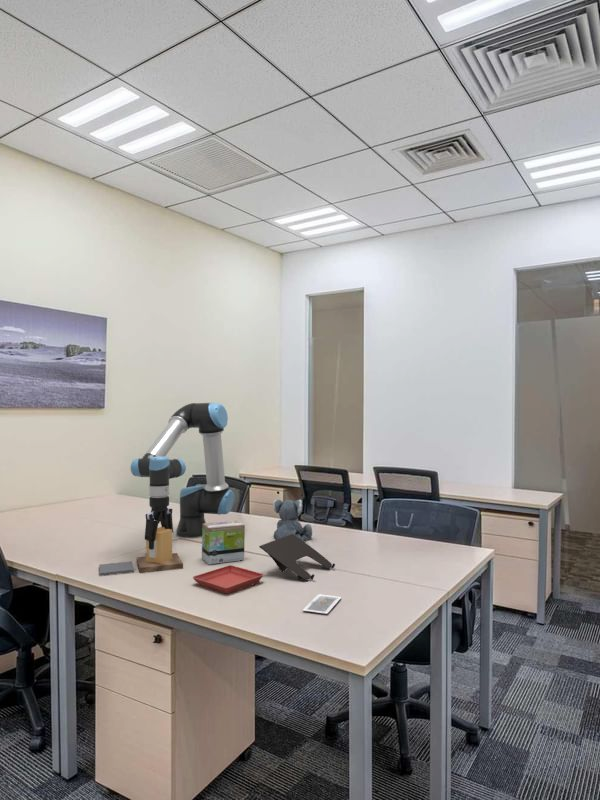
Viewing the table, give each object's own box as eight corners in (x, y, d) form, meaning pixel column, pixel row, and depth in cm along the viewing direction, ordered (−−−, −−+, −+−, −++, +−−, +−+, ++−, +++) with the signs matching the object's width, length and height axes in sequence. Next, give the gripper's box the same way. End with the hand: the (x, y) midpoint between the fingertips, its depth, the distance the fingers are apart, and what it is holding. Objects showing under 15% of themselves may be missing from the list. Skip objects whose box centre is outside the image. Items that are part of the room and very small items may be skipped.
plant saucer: (226, 597, 176) (226, 587, 176) (191, 585, 188) (191, 576, 188) (264, 583, 190) (264, 574, 190) (230, 573, 202) (230, 564, 202)
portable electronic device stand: (299, 599, 190) (309, 578, 188) (252, 561, 201) (261, 541, 199) (330, 581, 210) (339, 562, 208) (285, 548, 221) (294, 529, 218)
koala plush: (314, 538, 255) (314, 496, 255) (299, 547, 239) (298, 502, 239) (281, 534, 262) (281, 494, 262) (264, 543, 246) (264, 500, 246)
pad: (131, 563, 214) (131, 561, 214) (133, 572, 203) (133, 569, 203) (99, 567, 210) (99, 564, 210) (99, 576, 198) (99, 573, 198)
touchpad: (341, 600, 173) (341, 593, 173) (327, 617, 159) (327, 610, 159) (318, 597, 176) (318, 590, 176) (302, 613, 162) (302, 606, 162)
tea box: (209, 565, 211) (209, 527, 211) (201, 559, 220) (201, 523, 220) (245, 560, 218) (245, 523, 218) (236, 554, 227) (236, 519, 227)
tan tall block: (157, 556, 216) (157, 525, 217) (172, 558, 214) (172, 527, 214) (146, 561, 210) (146, 529, 210) (160, 563, 207) (160, 530, 207)
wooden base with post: (177, 557, 222) (177, 531, 222) (183, 568, 207) (183, 539, 207) (136, 561, 216) (136, 534, 217) (139, 573, 201) (139, 543, 202)
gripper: (150, 500, 202) (150, 562, 201) (182, 493, 220) (182, 549, 219) (134, 499, 205) (134, 560, 204) (167, 492, 223) (167, 547, 222)
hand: (159, 554), depth 212 cm, fingers closed on tan tall block, 7 cm apart
